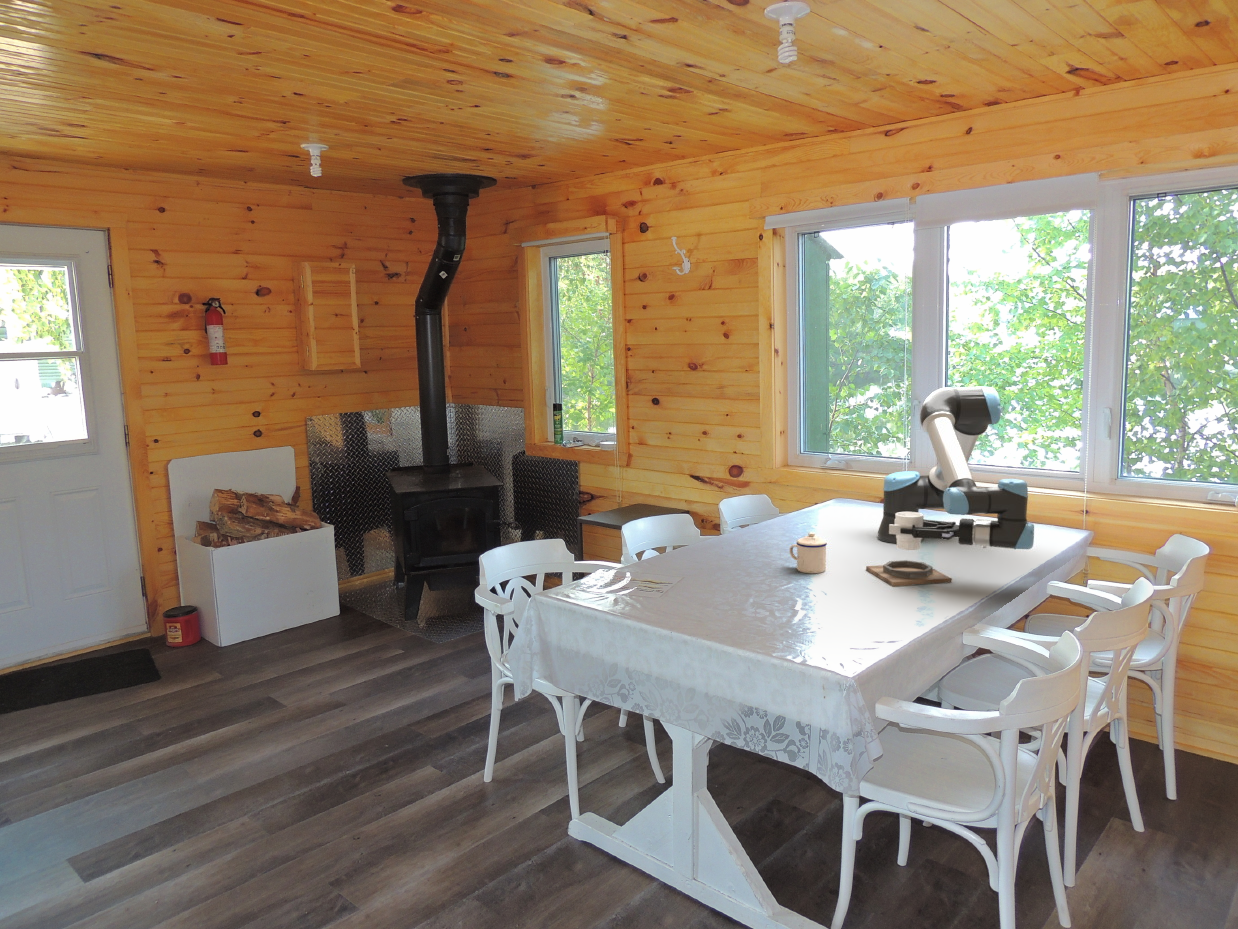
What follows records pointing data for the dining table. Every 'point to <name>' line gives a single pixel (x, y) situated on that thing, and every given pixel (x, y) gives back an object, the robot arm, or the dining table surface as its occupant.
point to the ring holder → (907, 573)
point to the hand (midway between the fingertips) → (892, 526)
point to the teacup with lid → (810, 554)
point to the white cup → (909, 520)
